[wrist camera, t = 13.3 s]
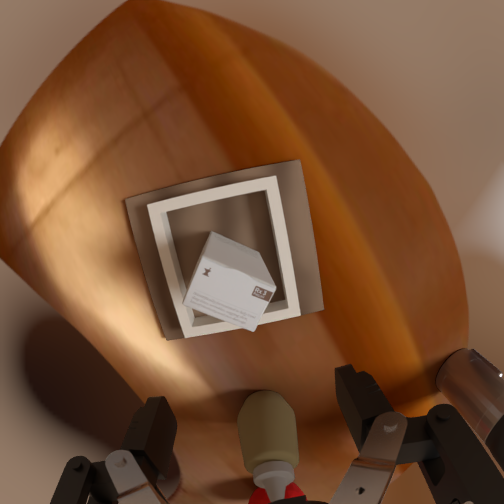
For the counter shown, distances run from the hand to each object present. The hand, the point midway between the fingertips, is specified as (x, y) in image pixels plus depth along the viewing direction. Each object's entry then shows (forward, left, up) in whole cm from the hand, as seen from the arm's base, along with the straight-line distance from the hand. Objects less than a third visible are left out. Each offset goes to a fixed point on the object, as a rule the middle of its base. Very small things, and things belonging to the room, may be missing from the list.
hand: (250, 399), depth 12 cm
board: (+1, -2, -22) cm, 22 cm away
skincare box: (+1, -2, -22) cm, 22 cm away
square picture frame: (+1, -2, -22) cm, 22 cm away
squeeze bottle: (+1, +21, -22) cm, 31 cm away
